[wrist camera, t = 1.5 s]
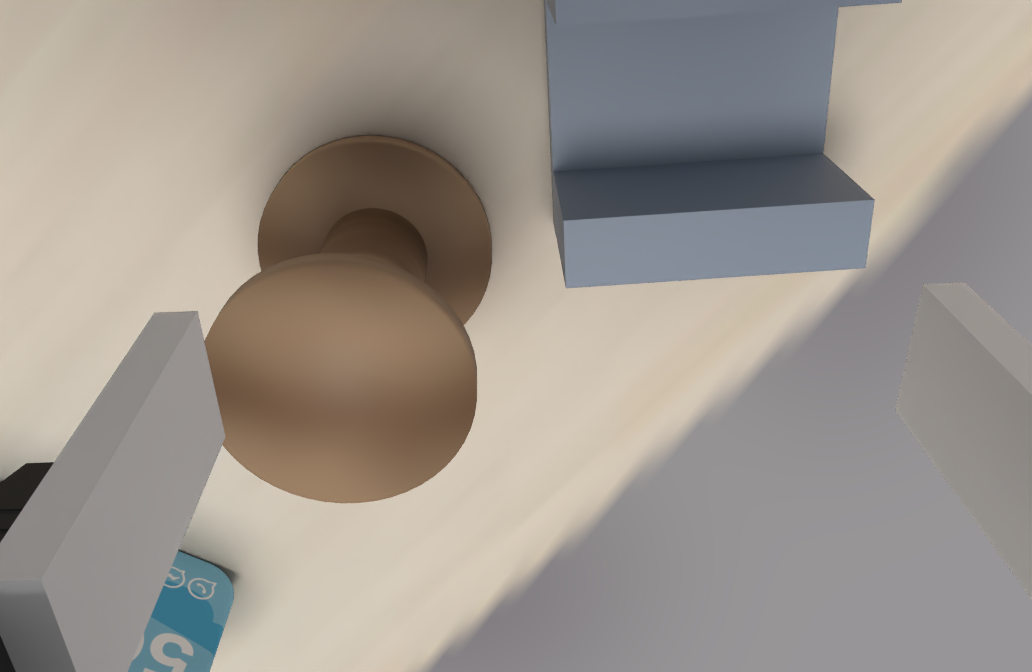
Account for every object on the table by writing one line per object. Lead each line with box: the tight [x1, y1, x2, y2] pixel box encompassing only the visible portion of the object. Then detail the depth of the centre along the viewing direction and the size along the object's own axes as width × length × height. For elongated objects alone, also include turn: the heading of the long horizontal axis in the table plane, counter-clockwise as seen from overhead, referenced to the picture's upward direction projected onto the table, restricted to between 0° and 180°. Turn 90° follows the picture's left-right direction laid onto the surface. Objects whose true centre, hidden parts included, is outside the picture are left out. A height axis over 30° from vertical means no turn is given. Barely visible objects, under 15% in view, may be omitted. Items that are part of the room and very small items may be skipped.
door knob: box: [204, 136, 492, 503], centre depth 31 cm, size 9×9×11 cm
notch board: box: [544, 0, 902, 288], centre depth 30 cm, size 11×10×6 cm
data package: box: [128, 551, 234, 672], centre depth 38 cm, size 12×4×12 cm, turn 59°
